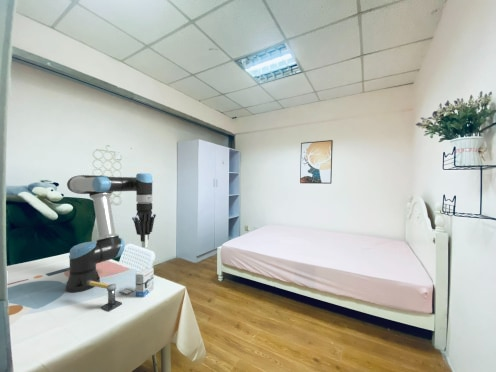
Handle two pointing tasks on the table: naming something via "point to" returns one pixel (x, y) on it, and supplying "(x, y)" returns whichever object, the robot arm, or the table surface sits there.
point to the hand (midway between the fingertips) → (144, 246)
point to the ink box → (144, 281)
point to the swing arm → (101, 285)
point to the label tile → (126, 292)
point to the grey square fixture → (111, 302)
